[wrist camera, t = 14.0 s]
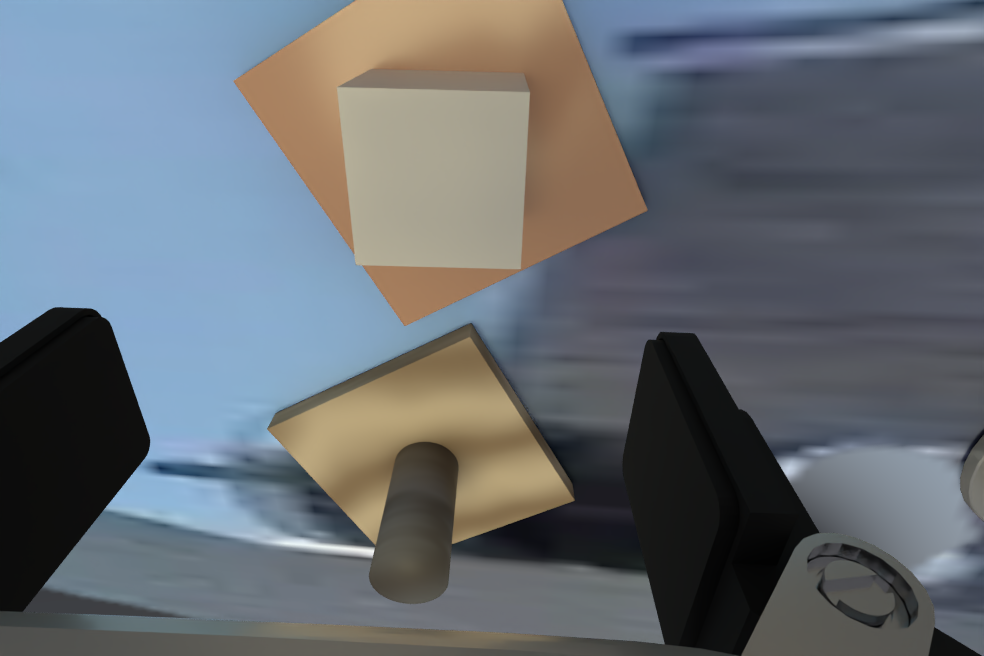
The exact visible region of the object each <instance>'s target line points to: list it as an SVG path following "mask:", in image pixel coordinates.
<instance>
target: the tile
mask: <svg viewBox="0 0 984 656" xmlns="http://www.w3.org/2000/svg"><path fill="white" fill-rule="evenodd" d="M370 69H394V70H433V71H472V72H511V73H524V75H525V78H526V82H527V85H528V88H529V91H530V101H529V120H528V139H527V159H526V178H525V197H524V216H523V235H522V254H521V269H486V268H447V267H408V266H369V265H362V266H363V267H364V269H365V270H366V272H367V273H368V274H369V276H370V277H371V279H372V280H373V282H374V283H375V284H376V286H377V287H378V289H379V290H380V292H381V293H382V294H383V296H384V297H385V299H386V300H387V302H388V303H389V304H390V306H391V307H392V309H393V310H394V312H395V313H396V314H397V316H398V317H399V319H400V320H401V322H402V323H403V324H404V326H406V325H408V324H410V323H412V322H414V321H416V320H419V319H421V318H423V317H425V316H427V315H429V314H431V313H433V312H435V311H438V310H440V309H442V308H444V307H446V306H448V305H450V304H452V303H454V302H456V301H459V300H461V299H463V298H465V297H467V296H469V295H471V294H473V293H475V292H477V291H480V290H482V289H484V288H486V287H488V286H490V285H492V284H494V283H496V282H498V281H501V280H503V279H505V278H507V277H509V276H511V275H513V274H515V273H517V272H520V271H522V270H524V269H526V268H528V267H530V266H532V265H534V264H536V263H538V262H541V261H543V260H545V259H547V258H549V257H551V256H553V255H555V254H557V253H559V252H562V251H564V250H566V249H568V248H570V247H572V246H574V245H576V244H578V243H581V242H583V241H585V240H587V239H589V238H591V237H593V236H595V235H597V234H599V233H602V232H604V231H606V230H608V229H610V228H612V227H614V226H616V225H618V224H620V223H623V222H625V221H627V220H629V219H631V218H633V217H635V216H637V215H639V214H641V213H644V212H646V211H648V210H647V207H646V205H645V203H644V200H643V198H642V195H641V193H640V190H639V188H638V185H637V183H636V180H635V178H634V176H633V173H632V171H631V168H630V166H629V163H628V161H627V158H626V156H625V153H624V151H623V149H622V146H621V144H620V141H619V139H618V136H617V134H616V131H615V129H614V126H613V124H612V121H611V119H610V117H609V114H608V112H607V109H606V107H605V104H604V102H603V99H602V97H601V94H600V92H599V90H598V87H597V85H596V82H595V80H594V77H593V75H592V72H591V70H590V67H589V65H588V63H587V60H586V58H585V55H584V53H583V50H582V48H581V45H580V43H579V40H578V38H577V36H576V33H575V31H574V28H573V26H572V23H571V21H570V18H569V16H568V13H567V11H566V8H565V6H564V4H563V1H562V0H356V1H354V2H352V3H351V4H349V5H348V6H346V7H345V8H343V9H342V10H340V11H339V12H337V13H336V14H334V15H333V16H331V17H330V18H328V19H327V20H325V21H324V22H322V23H321V24H319V25H318V26H316V27H315V28H313V29H312V30H310V31H308V32H307V33H305V34H304V35H302V36H301V37H299V38H298V39H296V40H295V41H293V42H292V43H290V44H289V45H287V46H286V47H284V48H283V49H281V50H280V51H278V52H277V53H275V54H274V55H272V56H271V57H269V58H268V59H266V60H264V61H263V62H261V63H260V64H258V65H257V66H255V67H254V68H252V69H251V70H249V71H248V72H246V73H245V74H243V75H242V76H240V77H239V78H237V79H236V80H234V83H235V84H236V86H237V87H238V88H239V90H240V91H241V93H242V94H243V96H244V97H245V98H246V100H247V101H248V103H249V104H250V106H251V107H252V108H253V110H254V111H255V113H256V114H257V116H258V117H259V118H260V120H261V121H262V123H263V124H264V126H265V127H266V129H267V130H268V131H269V133H270V134H271V136H272V137H273V139H274V140H275V141H276V143H277V144H278V146H279V147H280V149H281V150H282V151H283V153H284V154H285V156H286V157H287V159H288V160H289V161H290V163H291V164H292V166H293V167H294V169H295V170H296V171H297V173H298V174H299V176H300V177H301V179H302V180H303V181H304V183H305V184H306V186H307V187H308V189H309V190H310V191H311V193H312V194H313V196H314V197H315V199H316V200H317V201H318V203H319V204H320V206H321V207H322V209H323V210H324V211H325V213H326V214H327V216H328V217H329V219H330V220H331V221H332V223H333V224H334V226H335V227H336V229H337V230H338V231H339V233H340V234H341V236H342V237H343V239H344V240H345V242H346V243H347V244H348V246H349V247H350V249H351V250H352V252H353V253H354V244H353V234H352V225H351V216H350V206H349V197H348V187H347V178H346V169H345V159H344V150H343V141H342V131H341V122H340V113H339V103H338V94H337V87H338V86H340V85H342V84H344V83H346V82H348V81H349V80H351V79H353V78H355V77H357V76H359V75H361V74H363V73H365V72H367V71H368V70H370ZM354 254H355V253H354Z"/></svg>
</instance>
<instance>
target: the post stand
mask: <svg viewBox="0 0 984 656" xmlns="http://www.w3.org/2000/svg"><path fill="white" fill-rule="evenodd" d="M267 430H268V431H269V432H270V433H271V434H272V435H273V436H274V437H275V438H276V439H277V440H278V441H279V442H280V443H281V444H282V446H283V447H284V448H285V449H286V450H287V451H288V452H289V453H290V454H291V455H292V456H293V457H294V458H295V459H296V461H297V462H298V463H299V464H300V465H301V466H302V467H303V468H304V469H305V470H306V471H307V472H308V473H309V474H310V476H311V477H312V478H313V479H314V480H315V481H316V482H317V483H318V484H319V485H320V486H321V487H322V488H323V489H324V491H325V492H326V493H327V494H328V495H329V496H330V497H331V498H332V499H333V500H334V501H335V502H336V503H337V504H338V505H339V507H340V508H341V509H342V510H343V511H344V512H345V513H346V514H347V515H348V516H349V517H350V518H351V519H352V520H353V522H354V523H355V524H356V525H357V526H358V527H359V528H360V529H361V530H362V531H363V532H364V533H365V534H366V535H367V537H368V538H369V539H370V540H371V541H372V542H373V543H374V544H375V545H376V546H375V550H374V555H373V559H372V564H371V568H370V573H369V579H370V583H371V585H372V586H373V588H374V589H375V590H376V591H377V592H378V593H379V594H381V595H382V596H384V597H386V598H388V599H390V600H393V601H396V602H400V603H406V604H418V603H425V602H428V601H431V600H434V599H436V598H438V597H439V596H440V595H442V594H443V593H444V591H445V590H446V588H447V586H448V581H449V570H450V558H451V547H452V544H453V543H456V542H459V541H462V540H465V539H468V538H470V537H473V536H476V535H479V534H482V533H484V532H487V531H490V530H493V529H496V528H499V527H501V526H504V525H507V524H510V523H513V522H515V521H518V520H521V519H524V518H527V517H530V516H532V515H535V514H538V513H541V512H544V511H546V510H549V509H552V508H555V507H558V506H561V505H563V504H566V503H569V502H572V501H575V499H574V493H573V486H572V482H571V481H570V479H569V478H568V476H567V474H566V473H565V471H564V470H563V468H562V467H561V465H560V463H559V462H558V460H557V459H556V457H555V455H554V454H553V452H552V451H551V449H550V448H549V446H548V444H547V443H546V441H545V440H544V438H543V436H542V435H541V433H540V432H539V430H538V428H537V427H536V425H535V424H534V422H533V421H532V419H531V417H530V416H529V414H528V413H527V411H526V409H525V408H524V406H523V405H522V403H521V402H520V400H519V398H518V397H517V395H516V394H515V392H514V390H513V389H512V387H511V386H510V384H509V382H508V381H507V379H506V378H505V376H504V375H503V373H502V371H501V370H500V368H499V367H498V365H497V363H496V362H495V360H494V359H493V357H492V356H491V354H490V352H489V351H488V349H487V348H486V346H485V344H484V343H483V341H482V340H481V338H480V336H479V335H478V333H477V332H476V330H475V329H474V327H473V325H472V324H471V323H470V324H468V325H466V326H464V327H462V328H460V329H457V330H455V331H453V332H451V333H449V334H447V335H444V336H442V337H440V338H438V339H436V340H434V341H431V342H429V343H427V344H425V345H423V346H421V347H418V348H416V349H414V350H412V351H410V352H408V353H405V354H403V355H401V356H399V357H397V358H395V359H392V360H390V361H388V362H386V363H384V364H382V365H379V366H377V367H375V368H373V369H371V370H369V371H366V372H364V373H362V374H360V375H358V376H356V377H353V378H351V379H349V380H347V381H345V382H343V383H340V384H338V385H336V386H334V387H332V388H330V389H327V390H325V391H323V392H321V393H319V394H317V395H314V396H312V397H310V398H308V399H306V400H304V401H301V402H299V403H297V404H295V405H293V406H291V407H288V408H286V409H284V410H282V411H280V412H277V413H276V414H275V415H274V417H273V419H272V421H271V423H270V425H269V426H268V428H267Z"/></svg>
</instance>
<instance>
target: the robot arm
mask: <svg viewBox="0 0 984 656" xmlns="http://www.w3.org/2000/svg"><path fill="white" fill-rule="evenodd" d="M149 447H150V437H149V434H148V431H147V428H146V425H145V422H144V419H143V416H142V413H141V410H140V407H139V405H138V402H137V399H136V396H135V393H134V390H133V387H132V384H131V381H130V379H129V376H128V373H127V370H126V367H125V364H124V361H123V358H122V355H121V353H120V350H119V347H118V344H117V341H116V338H115V335H114V332H113V329H112V327H111V325H110V323H109V321H108V320H107V319H105V318H103V317H101V315H100V314H99V313H98V312H97V311H96V310H93V309H88V308H63V307H55V308H52V309H50V310H48V311H47V312H45V313H44V314H42V315H41V316H39V317H38V318H36V319H35V320H33V321H32V322H30V323H29V324H27V325H26V326H24V327H23V328H21V329H20V330H18V331H17V332H15V333H14V334H12V335H11V336H9V337H8V338H6V339H5V340H3V341H2V342H0V656H981V655H980V654H978V653H976V652H975V651H973V650H971V649H970V648H968V647H966V646H965V645H963V644H961V643H960V642H958V641H956V640H955V639H953V638H951V637H950V636H948V635H946V634H945V633H943V632H941V631H940V630H938V629H937V628H935V627H934V625H935V616H934V606H933V604H932V602H931V600H930V598H929V596H928V593H927V591H926V589H925V588H924V587H923V586H922V584H921V583H920V582H919V581H918V580H917V578H916V577H915V576H914V575H913V573H912V572H911V571H909V570H908V569H907V568H906V567H905V566H904V565H902V564H901V563H900V562H899V561H898V560H896V559H895V558H894V557H892V556H891V555H889V554H888V553H886V552H884V551H883V550H881V549H879V548H878V547H876V546H874V545H872V544H869V543H867V542H865V541H862V540H860V539H857V538H855V537H851V536H846V535H841V534H837V533H819V531H818V529H817V528H816V526H815V525H814V523H813V521H812V519H811V518H810V516H809V514H808V513H807V511H806V509H805V507H804V506H803V504H802V503H801V501H800V499H799V497H798V496H797V494H796V492H795V491H794V489H793V487H792V486H791V484H790V482H789V481H788V479H787V477H786V475H785V474H784V472H783V470H782V469H781V467H780V465H779V464H778V462H777V460H776V459H775V457H774V455H773V454H772V452H771V450H770V448H769V447H768V445H767V443H766V442H765V440H764V438H763V437H762V435H761V433H760V432H759V430H758V428H757V427H756V425H755V423H754V421H753V420H752V418H751V417H750V416H749V414H748V413H747V412H745V411H743V410H739V409H738V407H737V406H736V404H735V402H734V400H733V399H732V397H731V395H730V393H729V392H728V390H727V388H726V386H725V385H724V383H723V381H722V379H721V378H720V376H719V374H718V372H717V371H716V369H715V367H714V365H713V364H712V362H711V360H710V358H709V357H708V355H707V353H706V352H705V350H704V348H703V346H702V345H701V343H700V341H699V339H698V338H697V336H696V335H695V334H693V333H674V332H660V333H659V334H658V336H657V339H656V340H648V341H647V342H646V345H645V349H644V354H643V359H642V364H641V369H640V374H639V379H638V384H637V389H636V394H635V399H634V404H633V409H632V414H631V419H630V424H629V429H628V434H627V439H626V444H625V449H624V454H623V464H622V465H623V477H624V481H625V485H626V489H627V493H628V497H629V501H630V505H631V509H632V513H633V517H634V521H635V525H636V529H637V533H638V538H639V542H640V546H641V550H642V554H643V558H644V562H645V566H646V570H647V574H648V578H649V582H650V586H651V590H652V594H653V598H654V602H655V606H656V610H657V614H658V618H659V622H660V626H661V630H662V634H663V638H664V642H665V645H664V644H655V643H646V642H637V641H623V640H608V639H592V638H577V637H561V636H546V635H530V634H515V633H495V632H474V631H453V630H432V629H411V628H390V627H369V626H348V625H326V624H304V623H281V622H257V621H234V620H211V619H187V618H162V617H138V616H114V615H89V614H63V613H35V612H23V611H24V609H25V608H26V606H28V604H29V603H30V602H31V601H32V599H33V598H34V597H35V595H36V594H37V593H38V592H39V591H40V589H41V588H42V587H43V586H44V584H45V583H46V582H47V581H48V579H49V578H50V577H51V575H52V574H53V573H54V572H55V570H56V569H57V568H58V567H59V565H60V564H61V563H62V562H63V560H64V559H65V558H66V557H67V555H68V554H69V553H70V552H71V550H72V549H73V548H74V547H75V545H76V544H77V543H78V542H79V540H80V539H81V538H82V537H83V535H84V534H85V533H86V532H87V530H88V529H89V528H90V526H91V525H92V524H93V523H94V521H95V520H96V519H97V518H98V516H99V515H100V514H101V513H102V511H103V510H104V509H105V508H106V506H107V505H108V504H109V503H110V501H111V500H112V499H113V498H114V496H115V495H116V494H117V493H118V491H119V490H120V489H121V488H122V486H123V485H124V484H125V483H126V481H127V480H128V479H129V478H130V476H131V475H132V474H133V472H134V471H135V470H136V469H137V467H138V466H139V465H140V464H141V462H142V461H143V460H144V459H145V457H146V456H147V454H148V451H149ZM960 490H961V493H962V496H963V498H964V501H965V502H966V503H967V505H968V506H969V507H970V508H971V510H972V511H973V512H974V513H975V514H976V515H977V516H978V517H979V518H980V519H981V520H982V521H983V522H984V435H983V436H982V437H981V439H980V440H979V441H978V442H977V444H976V445H975V446H974V447H973V448H972V450H971V452H970V454H969V456H968V458H967V459H966V461H965V463H964V466H963V470H962V473H961V477H960Z"/></svg>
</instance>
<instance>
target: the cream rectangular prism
mask: <svg viewBox="0 0 984 656" xmlns="http://www.w3.org/2000/svg"><path fill="white" fill-rule="evenodd" d="M337 94H338V103H339V113H340V122H341V131H342V141H343V150H344V159H345V169H346V178H347V187H348V197H349V206H350V216H351V225H352V234H353V244H354V253H355V262H356V265H369V266H408V267H447V268H486V269H521V254H522V235H523V216H524V197H525V178H526V159H527V139H528V120H529V101H530V91H529V88H528V85H527V82H526V78H525V75H524V73H511V72H472V71H433V70H394V69H370V70H368V71H367V72H365V73H363V74H361V75H359V76H357V77H355V78H353V79H351V80H349V81H348V82H346V83H344V84H342V85H340V86H338V87H337Z"/></svg>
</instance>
